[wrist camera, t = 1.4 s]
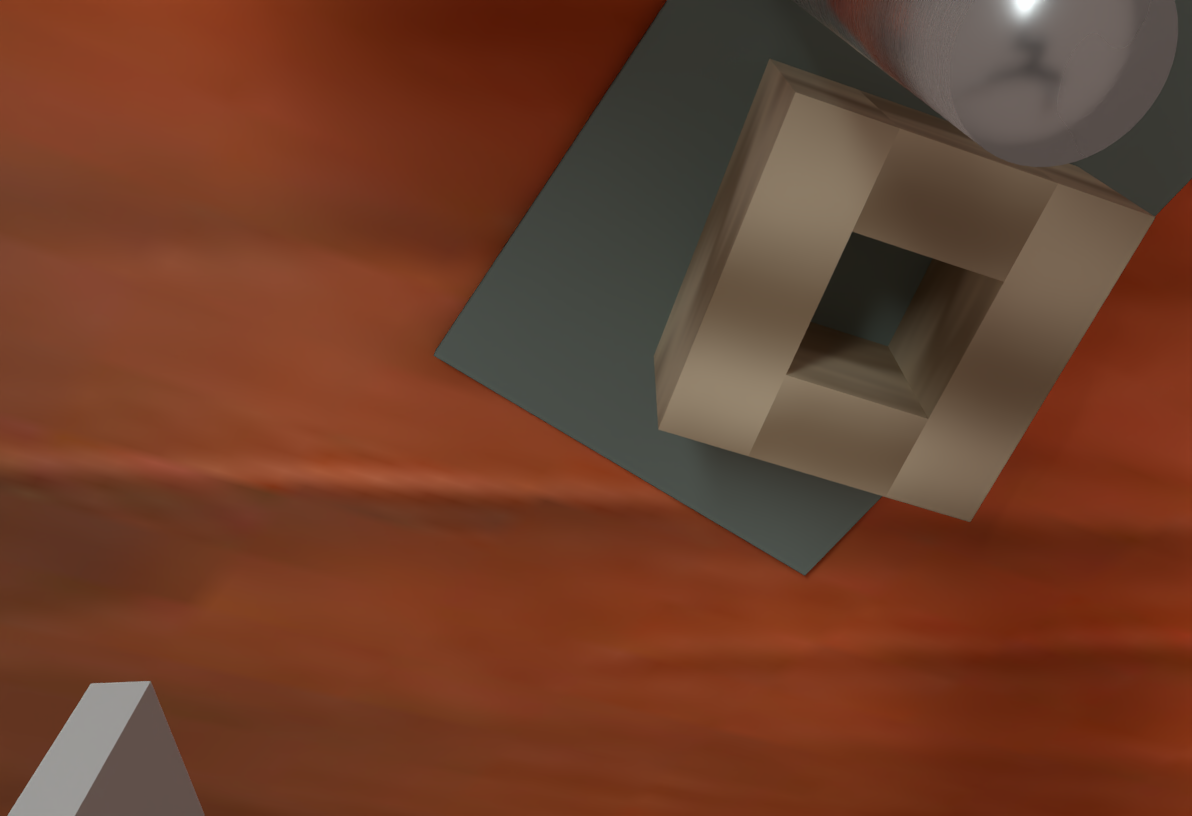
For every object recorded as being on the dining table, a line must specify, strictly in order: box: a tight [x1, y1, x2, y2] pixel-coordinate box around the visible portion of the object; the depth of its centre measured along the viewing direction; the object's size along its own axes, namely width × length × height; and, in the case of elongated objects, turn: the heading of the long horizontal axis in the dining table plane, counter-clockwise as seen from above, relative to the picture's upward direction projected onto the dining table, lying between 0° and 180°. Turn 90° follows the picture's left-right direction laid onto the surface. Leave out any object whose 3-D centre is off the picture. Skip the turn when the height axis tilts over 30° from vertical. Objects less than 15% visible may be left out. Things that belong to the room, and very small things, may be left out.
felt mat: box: [434, 0, 1192, 575], centre depth 31 cm, size 24×16×1 cm, turn 146°
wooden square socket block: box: [654, 59, 1155, 522], centre depth 30 cm, size 10×10×5 cm
